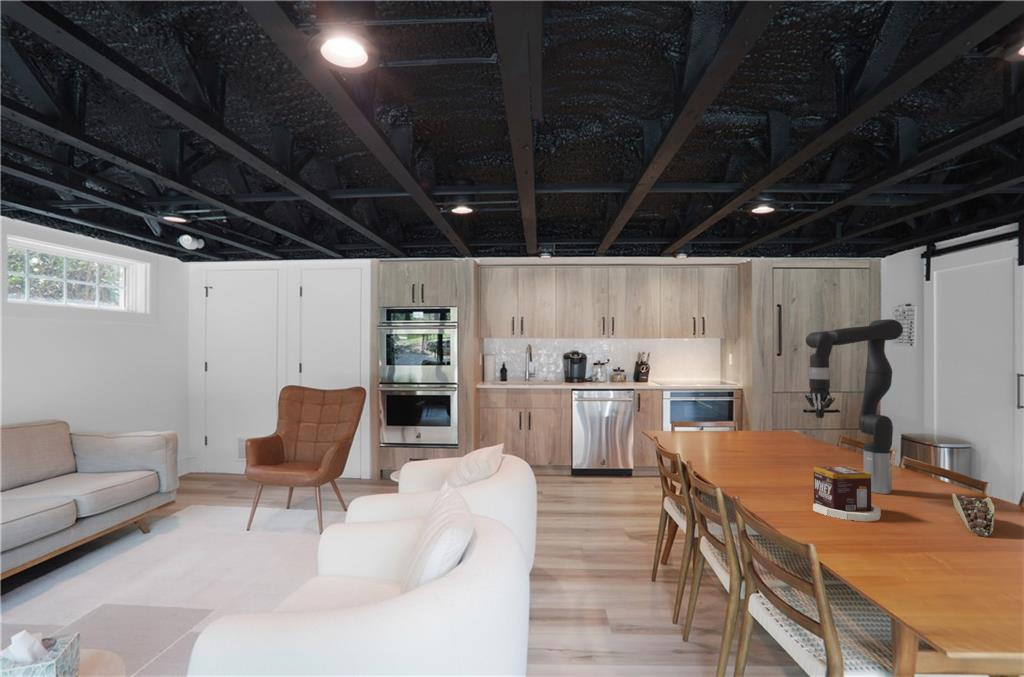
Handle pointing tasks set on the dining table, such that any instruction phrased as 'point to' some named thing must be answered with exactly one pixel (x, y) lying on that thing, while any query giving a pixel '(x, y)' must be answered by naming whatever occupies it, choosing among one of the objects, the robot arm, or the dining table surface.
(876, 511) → the segmented curved arch
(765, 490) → the dining table surface
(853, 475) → the supplement box
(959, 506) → the taco
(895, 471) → the dining table surface
